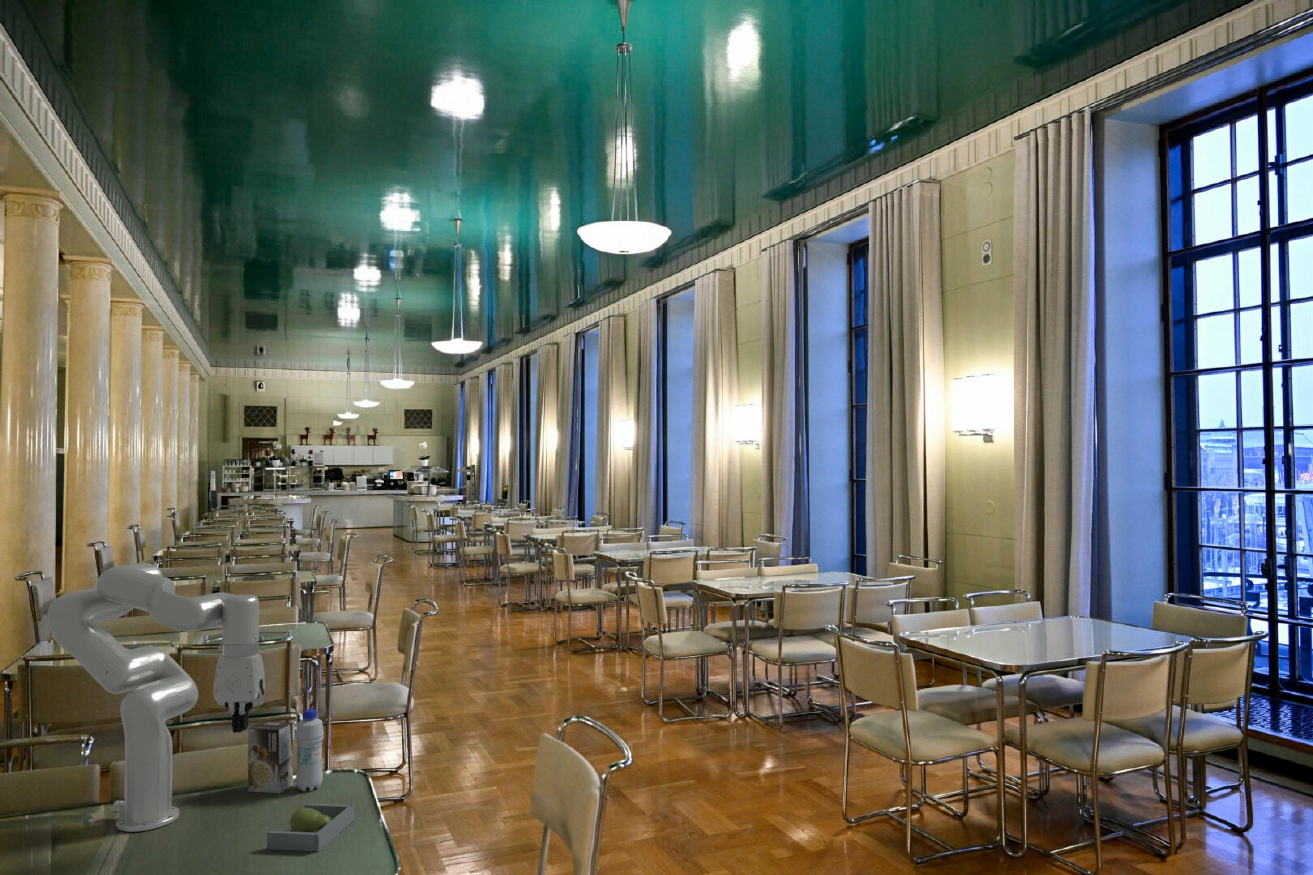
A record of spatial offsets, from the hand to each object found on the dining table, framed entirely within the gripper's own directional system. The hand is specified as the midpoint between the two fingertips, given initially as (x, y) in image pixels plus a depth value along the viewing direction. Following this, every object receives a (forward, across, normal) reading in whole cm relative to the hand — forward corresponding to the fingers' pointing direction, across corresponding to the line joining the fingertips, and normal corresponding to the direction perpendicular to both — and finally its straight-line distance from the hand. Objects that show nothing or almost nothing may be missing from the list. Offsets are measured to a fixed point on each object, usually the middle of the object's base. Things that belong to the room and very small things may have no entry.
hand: (240, 730), depth 193 cm
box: (+22, +18, -1) cm, 29 cm away
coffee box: (+22, -7, +24) cm, 34 cm away
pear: (+22, +18, 0) cm, 29 cm away
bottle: (+22, +3, +25) cm, 34 cm away
